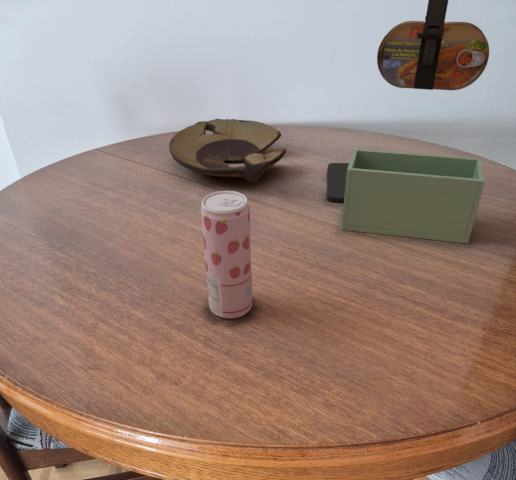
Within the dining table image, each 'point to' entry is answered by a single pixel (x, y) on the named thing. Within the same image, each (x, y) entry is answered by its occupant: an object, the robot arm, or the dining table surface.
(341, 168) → the phone
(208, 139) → the broken brown bowl
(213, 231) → the beverage can
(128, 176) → the dining table surface
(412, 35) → the tin
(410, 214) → the waste bin
